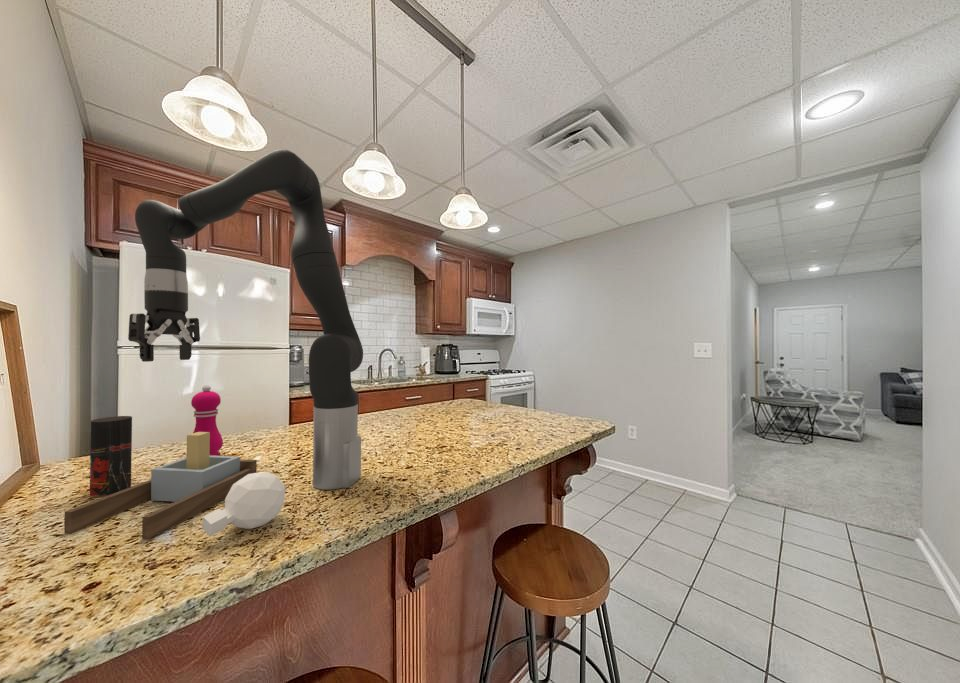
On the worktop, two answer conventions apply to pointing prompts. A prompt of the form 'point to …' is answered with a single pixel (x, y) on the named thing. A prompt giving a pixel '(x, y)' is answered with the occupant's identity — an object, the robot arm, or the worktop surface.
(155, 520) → the bay
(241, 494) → the perfume bottle
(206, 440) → the box
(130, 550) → the worktop surface
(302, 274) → the robot arm
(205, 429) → the pepper mill
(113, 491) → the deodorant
